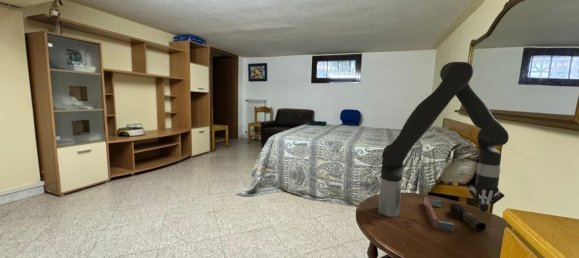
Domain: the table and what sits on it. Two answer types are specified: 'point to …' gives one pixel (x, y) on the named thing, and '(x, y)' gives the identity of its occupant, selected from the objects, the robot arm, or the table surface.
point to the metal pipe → (467, 217)
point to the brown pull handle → (432, 216)
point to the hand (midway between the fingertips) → (483, 211)
